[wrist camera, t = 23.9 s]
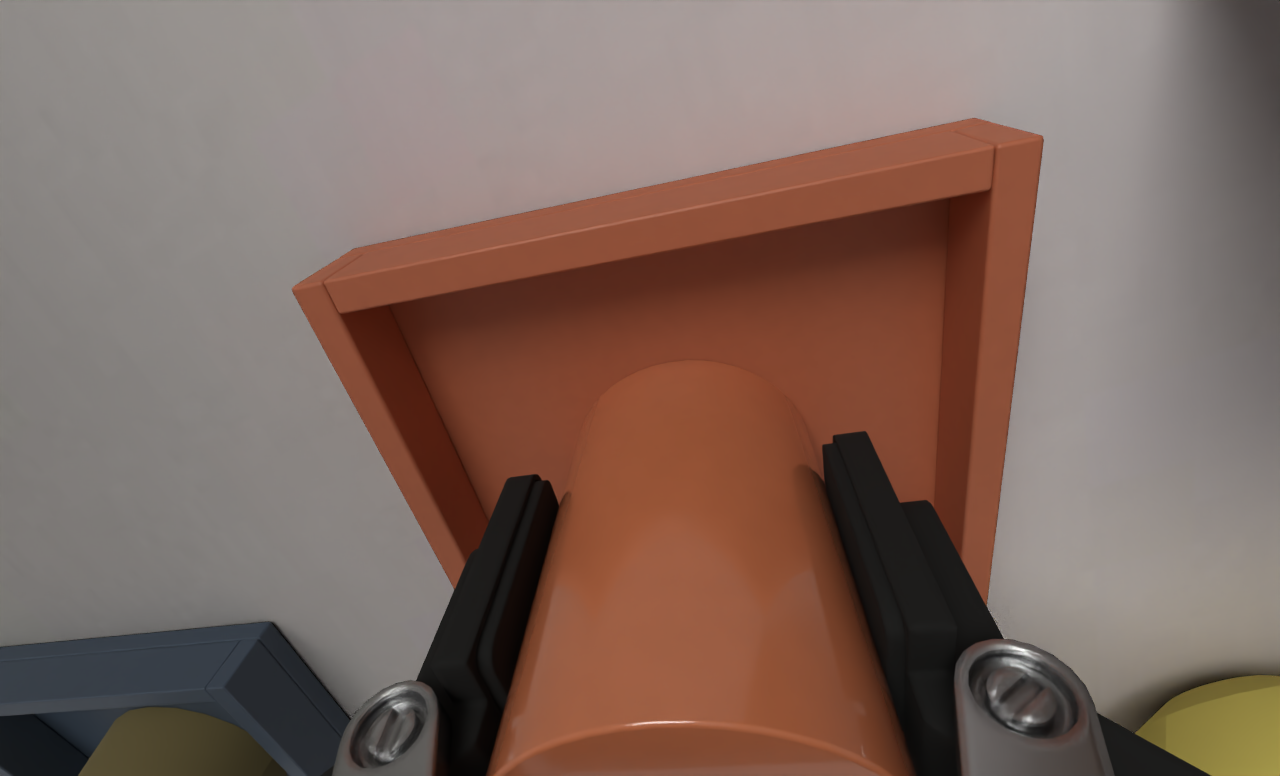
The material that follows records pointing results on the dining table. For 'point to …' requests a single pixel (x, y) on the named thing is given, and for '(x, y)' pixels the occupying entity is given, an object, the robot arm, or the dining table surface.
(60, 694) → the slate tray
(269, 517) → the dining table surface
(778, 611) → the terracotta jar
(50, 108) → the dining table surface
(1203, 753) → the ladle
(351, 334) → the terracotta tray
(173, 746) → the pepper shaker
